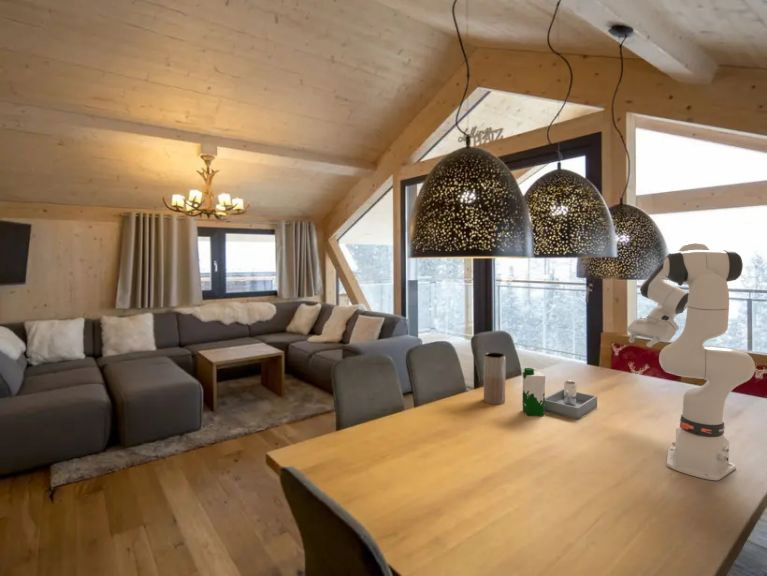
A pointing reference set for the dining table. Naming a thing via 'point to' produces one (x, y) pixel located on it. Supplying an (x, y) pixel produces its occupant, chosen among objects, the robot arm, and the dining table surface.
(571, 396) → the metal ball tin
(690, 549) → the dining table surface
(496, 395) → the planter
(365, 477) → the dining table surface
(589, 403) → the bin
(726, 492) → the dining table surface
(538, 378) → the milk carton
